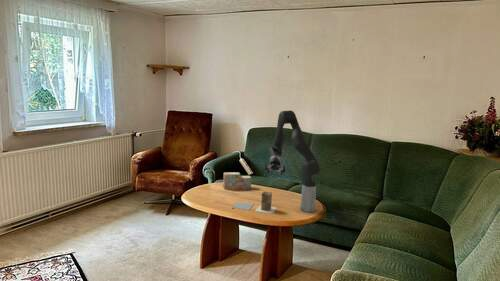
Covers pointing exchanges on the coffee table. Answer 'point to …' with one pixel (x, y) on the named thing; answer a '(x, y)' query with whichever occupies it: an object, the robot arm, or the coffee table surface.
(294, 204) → the coffee table surface
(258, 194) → the coffee table surface
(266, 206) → the walnut block
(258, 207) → the white tile
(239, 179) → the stack of blocks
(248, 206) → the grey mat
